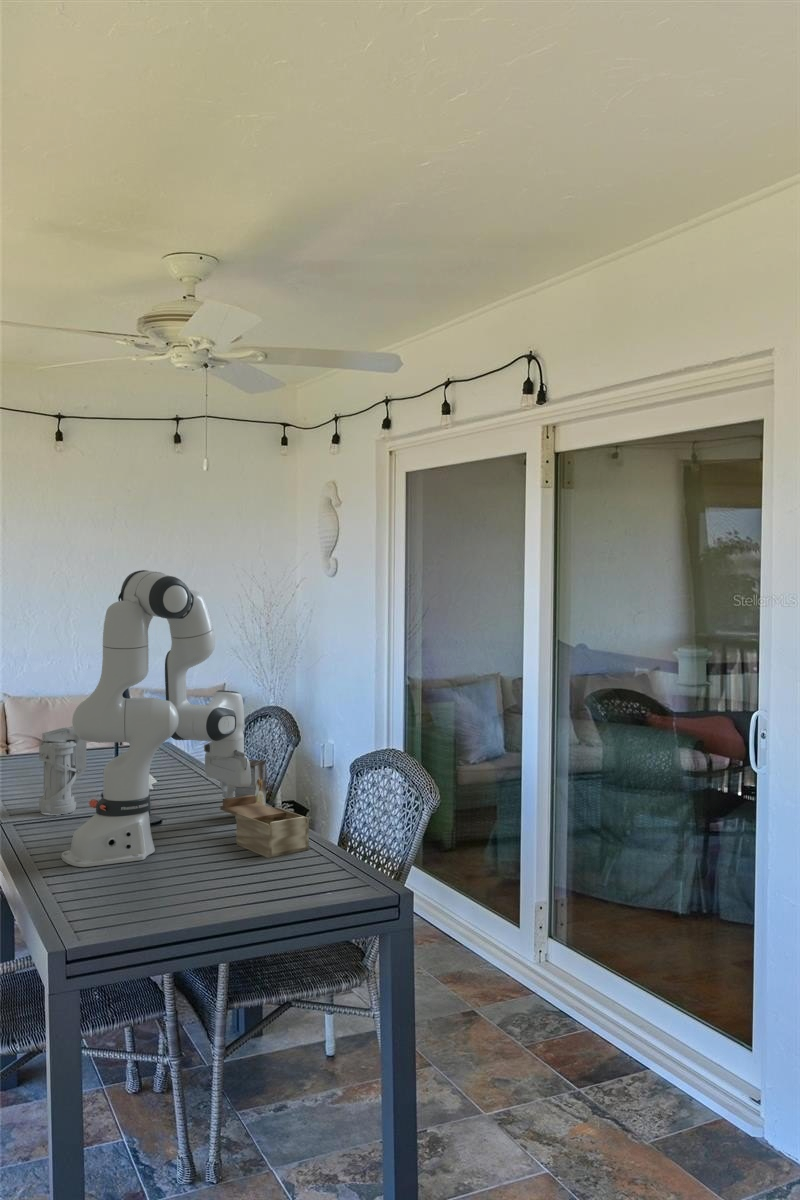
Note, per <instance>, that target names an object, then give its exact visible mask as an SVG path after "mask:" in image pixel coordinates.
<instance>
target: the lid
mask: <svg viewBox="0 0 800 1200" xmlns="http://www.w3.org/2000/svg"><path fill="white" fill-rule="evenodd" d="M219 807H220V809H219V810H220V811H223V812H225V813H228V814H231V815H234V816H235V815H236V816H237V813H240V814H242V815H245V816H248V817H250V818H253V819H256V820H262V819H268V818H274V817H280V816H286V812H283V811H280V810H277V809H275V807H274V808H273V807H272V806H268V805H263V804H260V803H257V802H256V796H254V795H246V796H239V797H235V796H233V797H232V798H222V806H219Z"/></svg>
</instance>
